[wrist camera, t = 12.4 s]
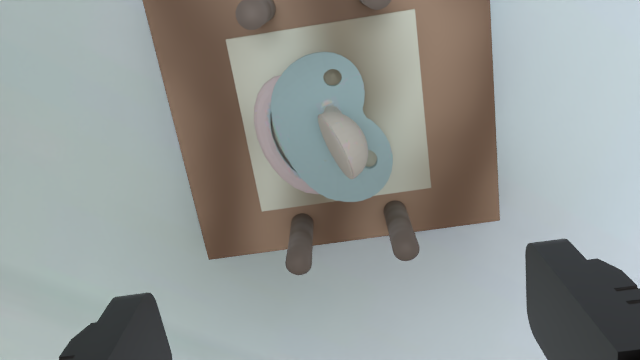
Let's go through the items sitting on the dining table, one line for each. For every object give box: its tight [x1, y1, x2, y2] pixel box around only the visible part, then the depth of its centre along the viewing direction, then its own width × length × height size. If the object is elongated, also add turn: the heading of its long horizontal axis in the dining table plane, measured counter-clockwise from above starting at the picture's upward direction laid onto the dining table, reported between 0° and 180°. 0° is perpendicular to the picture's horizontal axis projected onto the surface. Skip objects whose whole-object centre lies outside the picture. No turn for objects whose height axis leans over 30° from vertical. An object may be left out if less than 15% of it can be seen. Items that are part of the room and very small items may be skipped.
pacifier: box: [254, 52, 393, 202], centre depth 24 cm, size 7×6×6 cm
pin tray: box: [143, 0, 500, 275], centre depth 26 cm, size 16×14×6 cm
